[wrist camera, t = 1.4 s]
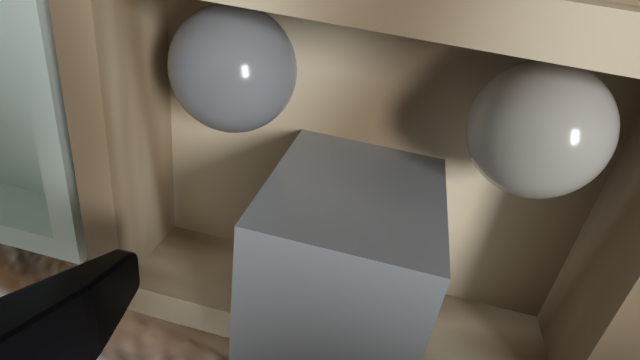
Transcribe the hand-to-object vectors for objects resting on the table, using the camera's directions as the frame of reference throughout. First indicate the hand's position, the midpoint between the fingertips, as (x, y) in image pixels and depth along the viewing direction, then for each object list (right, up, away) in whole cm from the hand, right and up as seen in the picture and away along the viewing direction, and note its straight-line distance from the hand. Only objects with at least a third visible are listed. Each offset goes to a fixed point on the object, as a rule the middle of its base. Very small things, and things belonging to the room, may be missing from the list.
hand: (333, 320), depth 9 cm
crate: (+1, +4, +4) cm, 5 cm away
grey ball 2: (+5, +5, +2) cm, 7 cm away
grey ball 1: (-2, +6, +3) cm, 7 cm away
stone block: (+1, +2, +4) cm, 5 cm away
